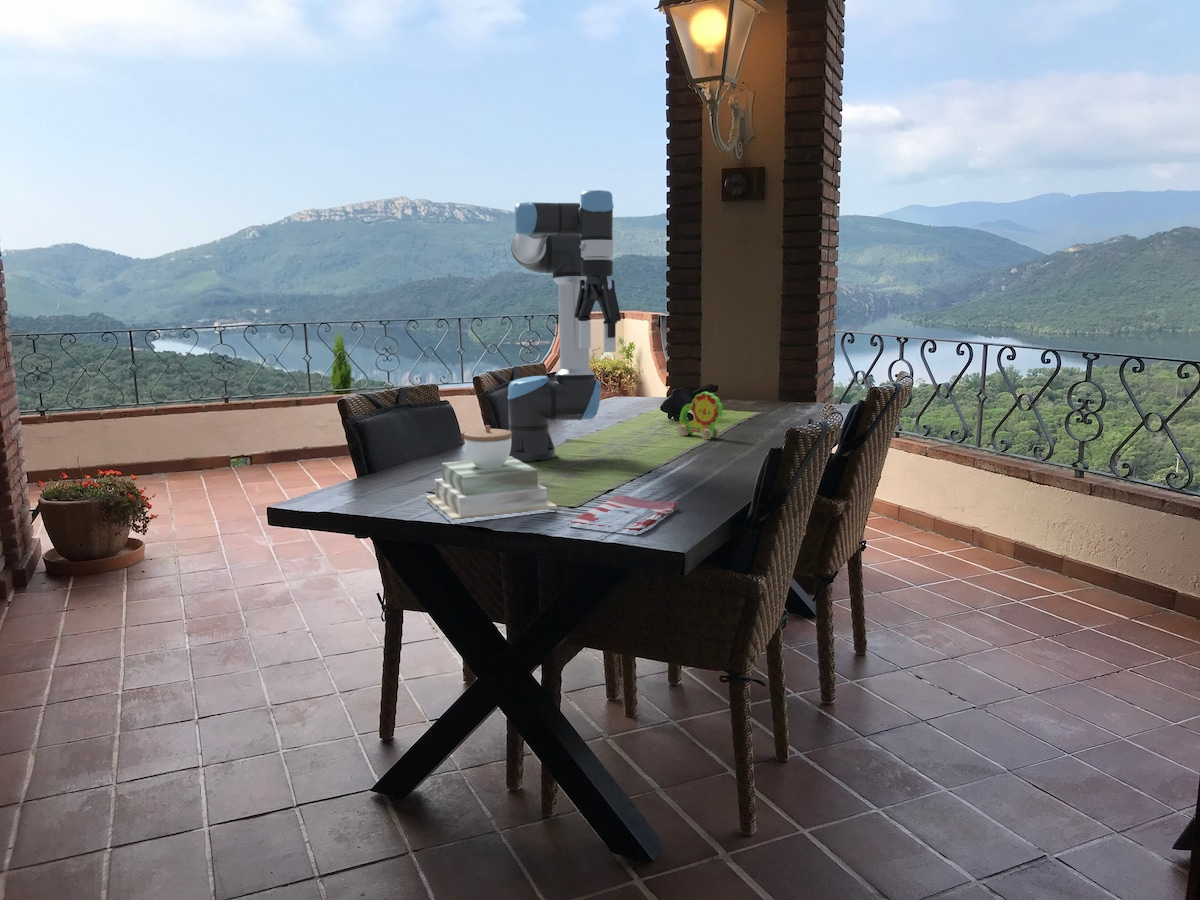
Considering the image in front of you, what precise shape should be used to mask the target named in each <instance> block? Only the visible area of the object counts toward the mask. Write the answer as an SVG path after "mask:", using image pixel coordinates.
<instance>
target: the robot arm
mask: <svg viewBox="0 0 1200 900" xmlns="http://www.w3.org/2000/svg"><path fill="white" fill-rule="evenodd" d="M613 213H614V203H613V194H612V192H610V191H609V190H602V189H601V190H598V189H597V190H584V191H581V194H580V202H533V201H532V202H531V201H527V202H518V203H516V204H515V206H514V213H513V214H514V232H515V233H516V234H515V235H514V236H513V238H512V240H511V244H510V250H511V251H510V252H511V255H512V257H513V258H514V260H515V261H516V262H517V264H518V265H520V266H522V267H523V268H524V269H525V270H526V269H527V270H529V271H531V272H534V273H540V274H552V280H553V282H554V283H555V284H556V285H557V286H558V288H557V289H558V291H557V293H558V324H559V325H558V326H559V327H558V329H559V331H558V332H559V333H558V334H559V367H560V368H559V369H558V371H556V373H555V374H554V380H549V377H548V376H547V375H534V376H533V375H532V376H527V377H521V378H517V379H514V380H512V381H511V382H509V384H508V387H507V388H508V389H507V393H508V395H507V400H508V431H511V432H512V437H511V451H510V455H509V457H510V456H512V457H513V458H515V459H517V460H519V461H521V462H536V461H535V460H542V461H547V459H548V460H550V459H554V458H556V447H555V444H554V441H553V439H552V435H551V433H550V425H549V424H550V422H552V421H553V422H555V421H584V420H585V421H586V420H593V419H594V418H595V417H596V416H597V414H598V411H599V408H600V402H601V395H602V393H601V392H602V391H601V389H602V388H601V385H602V384H601V381H600V380H599V379H597V378H596V375H595V372H594V371H592V370H591V367H590V348H591V347H592V346H591V343H592V341H591V330H592V329H591V321H592V318H591V313H592V311H593V309H594V307H595V306H594V305H595V303H596V302H598V304H599V307H600V310H601V312H602V315H603V318H604V320H603V321H602V322H603V353H615V352H616V349H617V348H616V346H617V345H616V338H617V337H616V334H617V333H616V332H617V331H616V328H617V327H616V324H618V322H620V321H621V320H622V316H621V312H620V306H619V303H618V298H617V294H616V288H615V287H616V286H615V280H614V279H608V277H611V276H612V275H613V272H614V269H613V268H614V266H613V264H614V263H613V261H612V259H611V258H613V257H614V240H613V230H614V229H613V228H614V227H613V225H614V223H613V222H614V221H613V219H614V217H613V216H614V215H613Z"/></svg>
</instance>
